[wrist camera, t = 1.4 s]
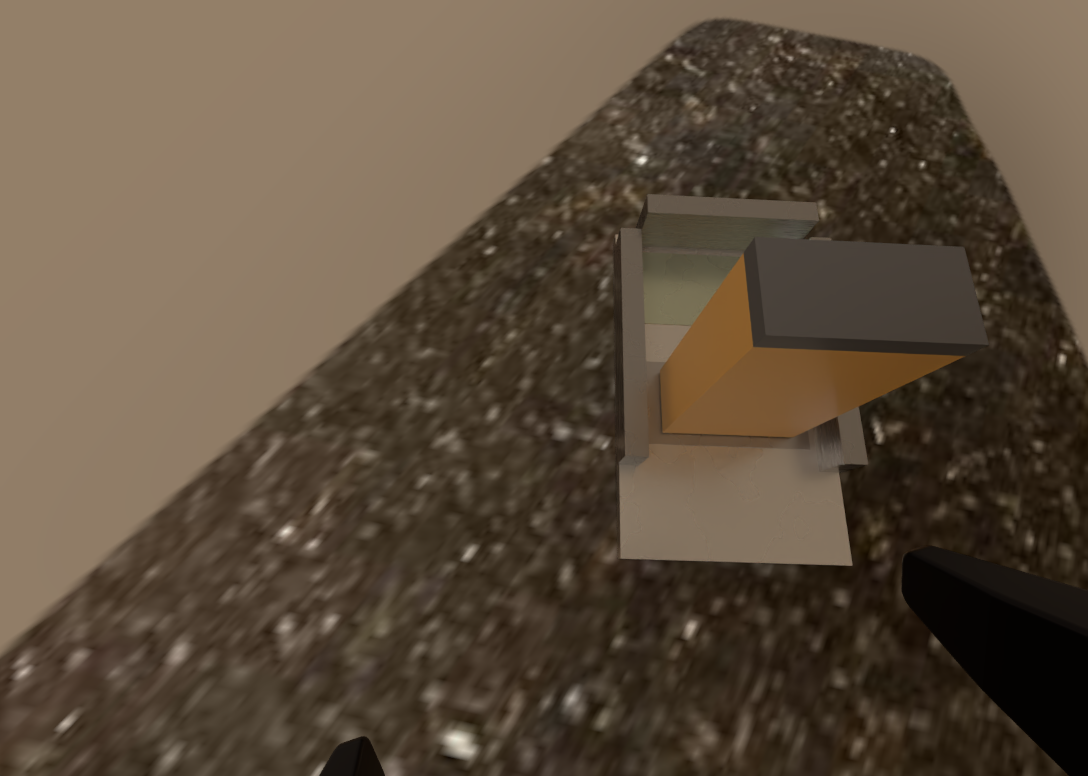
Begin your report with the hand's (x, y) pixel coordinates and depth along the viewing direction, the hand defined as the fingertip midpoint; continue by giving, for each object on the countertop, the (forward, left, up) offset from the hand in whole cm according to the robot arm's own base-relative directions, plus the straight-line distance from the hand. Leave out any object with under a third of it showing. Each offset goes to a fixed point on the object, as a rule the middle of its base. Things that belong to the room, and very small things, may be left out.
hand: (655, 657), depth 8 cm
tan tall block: (+3, -11, -14) cm, 18 cm away
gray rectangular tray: (+4, -11, -15) cm, 19 cm away
